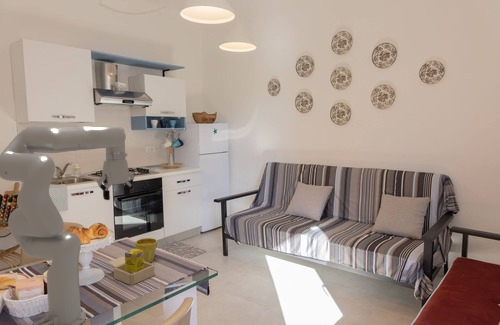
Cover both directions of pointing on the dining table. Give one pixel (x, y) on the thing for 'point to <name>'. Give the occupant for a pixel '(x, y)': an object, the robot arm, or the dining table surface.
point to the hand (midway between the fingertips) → (117, 197)
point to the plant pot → (147, 248)
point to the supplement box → (134, 261)
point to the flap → (117, 261)
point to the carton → (134, 274)
